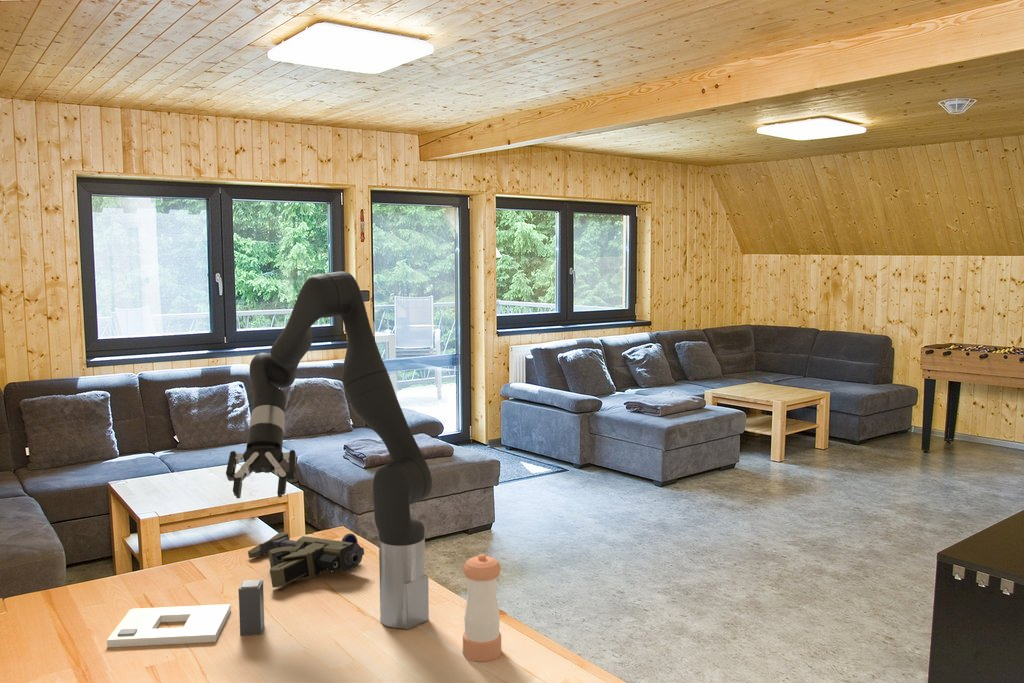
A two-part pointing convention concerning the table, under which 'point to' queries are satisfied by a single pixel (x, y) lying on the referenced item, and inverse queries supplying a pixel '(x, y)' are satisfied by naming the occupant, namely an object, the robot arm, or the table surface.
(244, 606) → the grey rectangular peg
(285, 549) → the futuristic firearm
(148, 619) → the plate
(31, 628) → the table surface
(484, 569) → the pepper shaker
